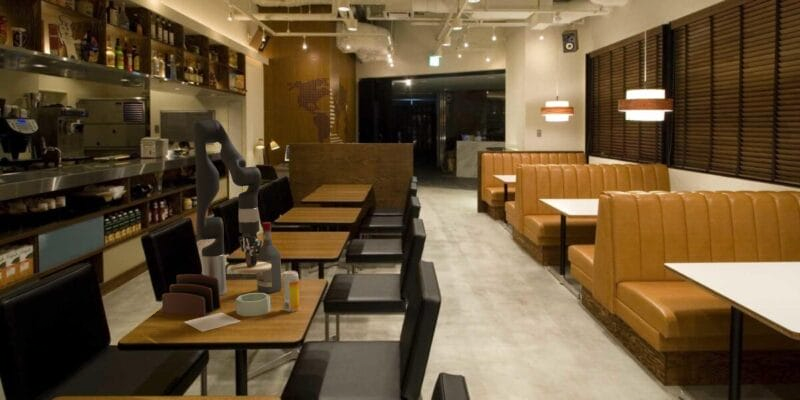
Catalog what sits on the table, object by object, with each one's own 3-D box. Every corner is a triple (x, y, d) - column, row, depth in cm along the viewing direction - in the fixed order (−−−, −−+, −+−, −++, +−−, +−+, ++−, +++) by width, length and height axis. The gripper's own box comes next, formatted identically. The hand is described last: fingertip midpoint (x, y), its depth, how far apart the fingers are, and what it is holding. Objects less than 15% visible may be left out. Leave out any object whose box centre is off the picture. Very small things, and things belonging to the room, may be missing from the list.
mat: (183, 323, 219) (183, 321, 219) (221, 314, 229) (221, 312, 229) (202, 333, 208) (202, 331, 208) (241, 322, 218) (241, 321, 218)
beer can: (302, 308, 234) (300, 270, 232) (294, 312, 229) (293, 274, 227) (288, 306, 236) (287, 270, 234) (281, 311, 231) (279, 273, 229)
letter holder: (179, 306, 241) (177, 272, 239) (221, 310, 234) (219, 275, 233) (162, 313, 231) (159, 278, 230) (205, 318, 225) (203, 281, 223)
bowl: (231, 312, 230) (231, 297, 230) (259, 305, 239) (258, 291, 238) (247, 319, 222) (246, 304, 221) (276, 312, 230) (275, 297, 229)
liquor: (270, 286, 267) (267, 220, 264) (284, 289, 262) (281, 222, 258) (254, 291, 260) (251, 223, 256) (269, 294, 255) (265, 225, 251)
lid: (224, 269, 228) (223, 253, 228) (258, 262, 238) (258, 247, 238) (243, 275, 217) (242, 259, 217) (278, 268, 228) (278, 253, 227)
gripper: (230, 219, 228) (233, 263, 230) (249, 223, 218) (251, 269, 220) (248, 216, 233) (250, 259, 235) (267, 220, 223) (269, 265, 225)
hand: (251, 264), depth 228 cm, fingers closed on lid, 3 cm apart
